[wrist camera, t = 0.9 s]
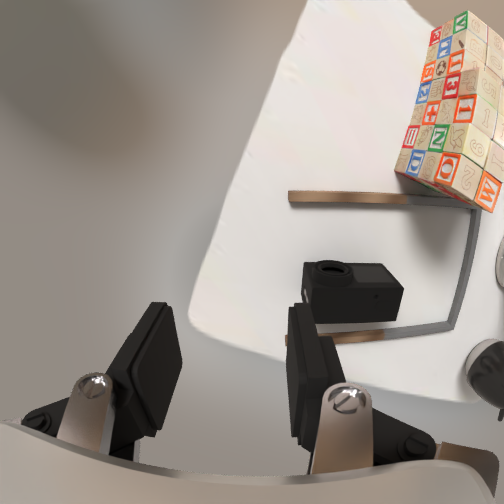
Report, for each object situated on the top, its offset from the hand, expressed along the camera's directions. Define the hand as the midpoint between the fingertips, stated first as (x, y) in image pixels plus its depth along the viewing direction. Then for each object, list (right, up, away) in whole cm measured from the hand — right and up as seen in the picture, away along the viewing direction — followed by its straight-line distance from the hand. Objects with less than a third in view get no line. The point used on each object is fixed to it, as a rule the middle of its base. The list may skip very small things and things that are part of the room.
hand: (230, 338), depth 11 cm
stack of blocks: (+23, +21, +17) cm, 36 cm away
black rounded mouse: (+44, -16, +29) cm, 55 cm away
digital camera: (+12, +1, +24) cm, 27 cm away
